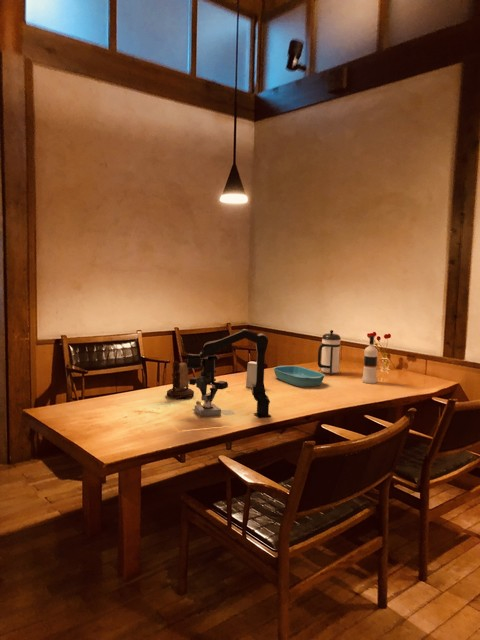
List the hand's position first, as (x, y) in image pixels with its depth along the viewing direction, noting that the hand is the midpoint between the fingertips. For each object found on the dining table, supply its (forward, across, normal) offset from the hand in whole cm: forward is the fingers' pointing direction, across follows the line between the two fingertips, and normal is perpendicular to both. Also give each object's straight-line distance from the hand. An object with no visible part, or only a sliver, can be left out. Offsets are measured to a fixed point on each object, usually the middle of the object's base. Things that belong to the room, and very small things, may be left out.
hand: (207, 400), depth 250 cm
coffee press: (+7, +19, +127) cm, 129 cm away
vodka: (+7, +49, +118) cm, 128 cm away
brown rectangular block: (+6, 0, 0) cm, 6 cm away
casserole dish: (+8, +10, +93) cm, 94 cm away
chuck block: (+7, -4, +3) cm, 9 cm away
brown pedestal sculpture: (+7, -30, +21) cm, 38 cm away
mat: (+7, +7, +7) cm, 12 cm away
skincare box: (+7, -6, +64) cm, 65 cm away
